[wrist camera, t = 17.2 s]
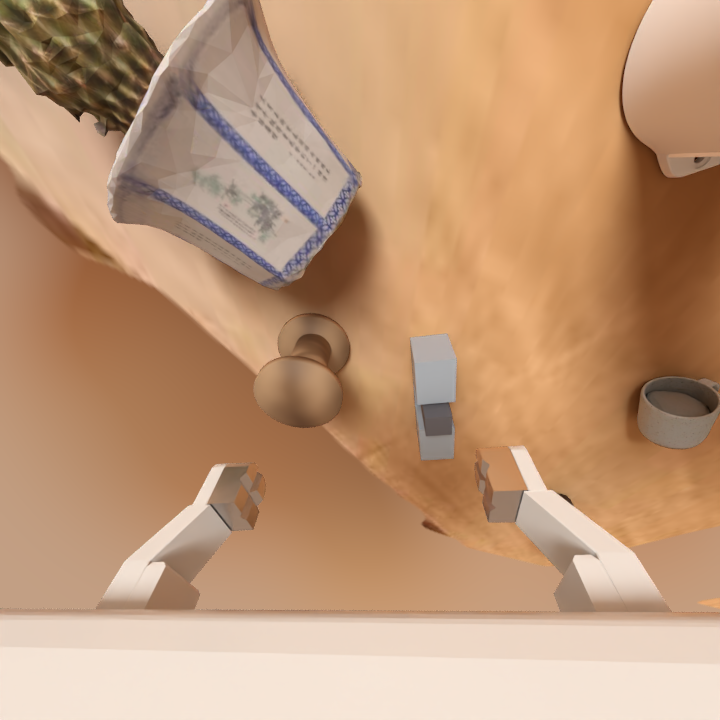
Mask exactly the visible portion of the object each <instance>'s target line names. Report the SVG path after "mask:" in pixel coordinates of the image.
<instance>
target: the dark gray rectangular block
mask: <svg viewBox="0 0 720 720" xmlns="http://www.w3.org/2000/svg"><path fill="white" fill-rule="evenodd" d="M421 411H422V417H423V423H424V429H425V434H426V436H440V435H452V413H451V410H450V406H449V403H448V402H447V403H435V404H422V405H421Z"/></svg>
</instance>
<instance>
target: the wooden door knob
mask: <svg viewBox="0 0 720 720" xmlns="http://www.w3.org/2000/svg"><path fill="white" fill-rule="evenodd" d="M278 350H279V353H280V355H281V357H279V358H276V359H274V360H272V361H270V362H268V363H267V364H266V365H265V366H263V368H262V369H261V370H260V372H259V374H258V376H257V377H256V379H255V382H254V388H253V389H254V396H255V399H256V401H257V403H258V405H259V406H260V408H261V409H262V410H263V411H264V412H265V413H266V414H267V415H268V416H270V417H271V418H273V419H274V420H276V421H278V422H280V423H283V424H285V425H289V426H293V427H300V428H310V427H316V426H320V425H323V424H325V423H327V422H329V421H331V420H332V419H333V418H334V417H335V416H336V415H337V414H338V412H339V411H340V408H341V405H342V398H343V390H342V386H341V383H340V381H339V379H338V378H337V376H336V375H335V374H334V373H336V372H337V371H339V370H340V369H341V368H342V367H343V366H344V365H345V363H346V361H347V359H348V355H349V340H348V337H347V335H346V333H345V331H344V330H343V328H342V327H341V326H340V325H339V324H338V323H337V322H335V321H334V320H332V319H330V318H328V317H326V316H323V315H320V314H311V313H310V314H302V315H298V316H296V317H294V318H292V319H290V320H289V321H288V322H287V323H286V324H285V325H284V327H283V328H282V330H281V332H280V334H279V337H278Z"/></svg>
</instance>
